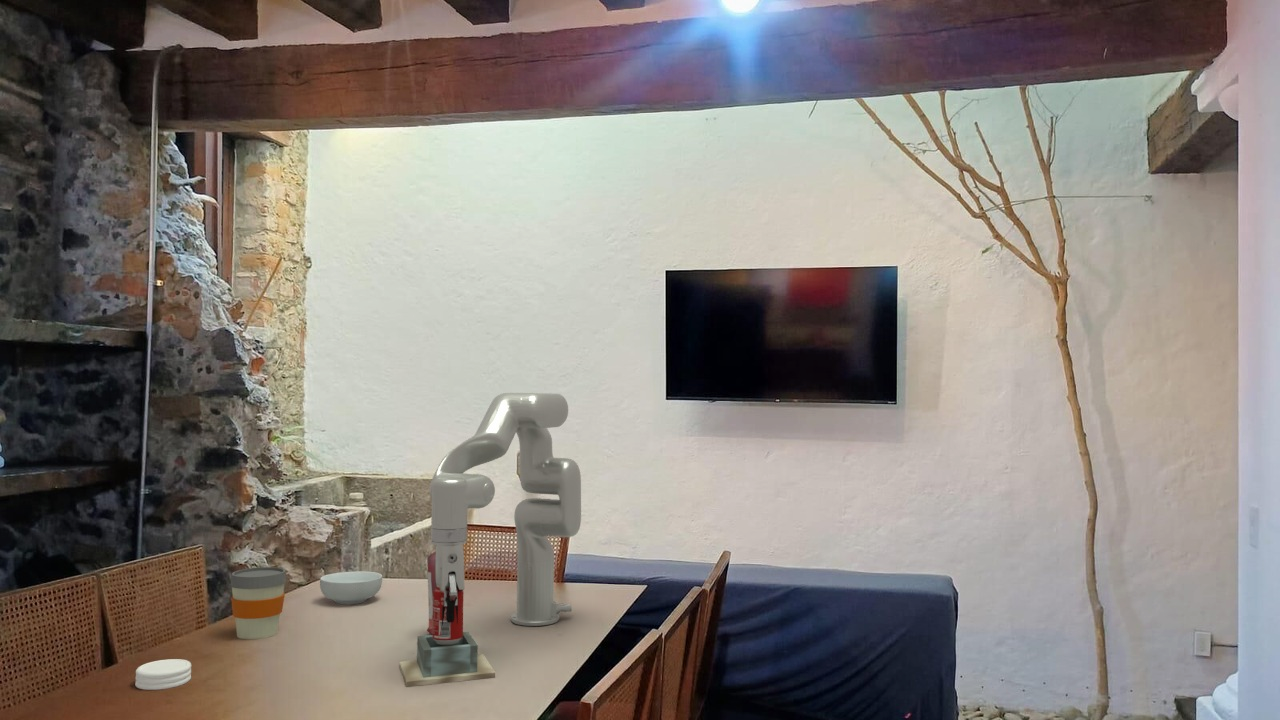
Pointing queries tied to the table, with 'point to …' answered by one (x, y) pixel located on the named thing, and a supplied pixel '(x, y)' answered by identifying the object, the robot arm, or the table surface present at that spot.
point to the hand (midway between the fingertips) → (447, 620)
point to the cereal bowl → (350, 586)
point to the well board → (445, 662)
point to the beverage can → (447, 631)
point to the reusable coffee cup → (257, 601)
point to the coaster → (163, 674)
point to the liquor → (431, 587)
